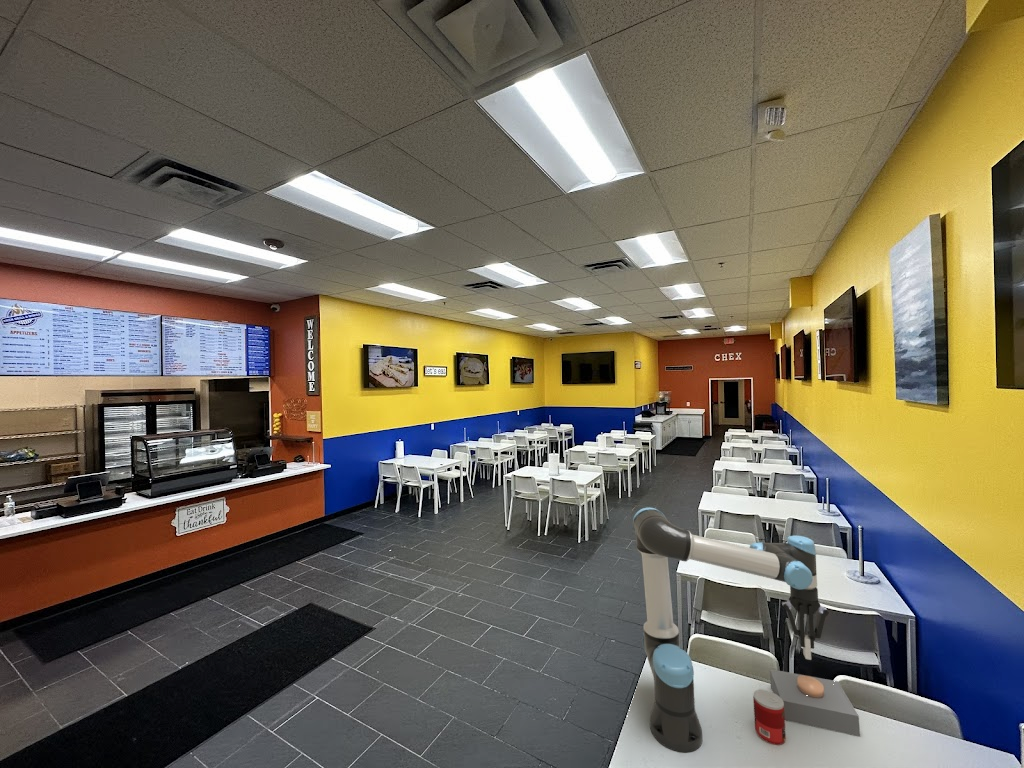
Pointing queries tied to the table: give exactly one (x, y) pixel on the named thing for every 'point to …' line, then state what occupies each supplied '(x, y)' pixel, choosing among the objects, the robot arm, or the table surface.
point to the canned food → (769, 716)
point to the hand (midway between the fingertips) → (807, 656)
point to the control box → (816, 704)
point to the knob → (810, 686)
